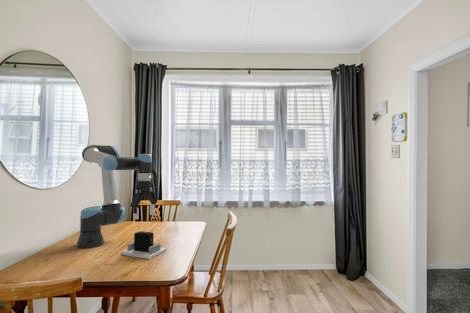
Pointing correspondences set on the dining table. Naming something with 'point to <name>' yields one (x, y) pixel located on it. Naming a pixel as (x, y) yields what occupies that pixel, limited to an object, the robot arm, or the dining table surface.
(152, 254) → the mounting board
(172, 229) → the dining table surface
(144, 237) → the electronic device
